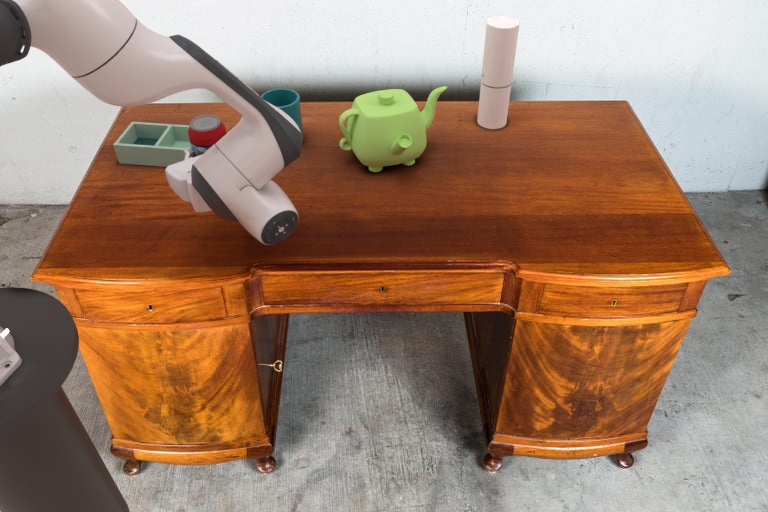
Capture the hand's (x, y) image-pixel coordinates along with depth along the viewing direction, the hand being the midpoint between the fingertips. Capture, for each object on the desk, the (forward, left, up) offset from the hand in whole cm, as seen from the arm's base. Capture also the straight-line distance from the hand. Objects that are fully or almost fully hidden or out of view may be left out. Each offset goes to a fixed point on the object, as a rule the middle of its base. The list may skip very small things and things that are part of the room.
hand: (208, 145), depth 122 cm
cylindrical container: (+46, -53, -18) cm, 72 cm away
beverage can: (-1, -1, -7) cm, 7 cm away
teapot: (+26, -32, -18) cm, 45 cm away
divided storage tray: (+22, +21, -18) cm, 35 cm away
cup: (+31, -3, -18) cm, 36 cm away
